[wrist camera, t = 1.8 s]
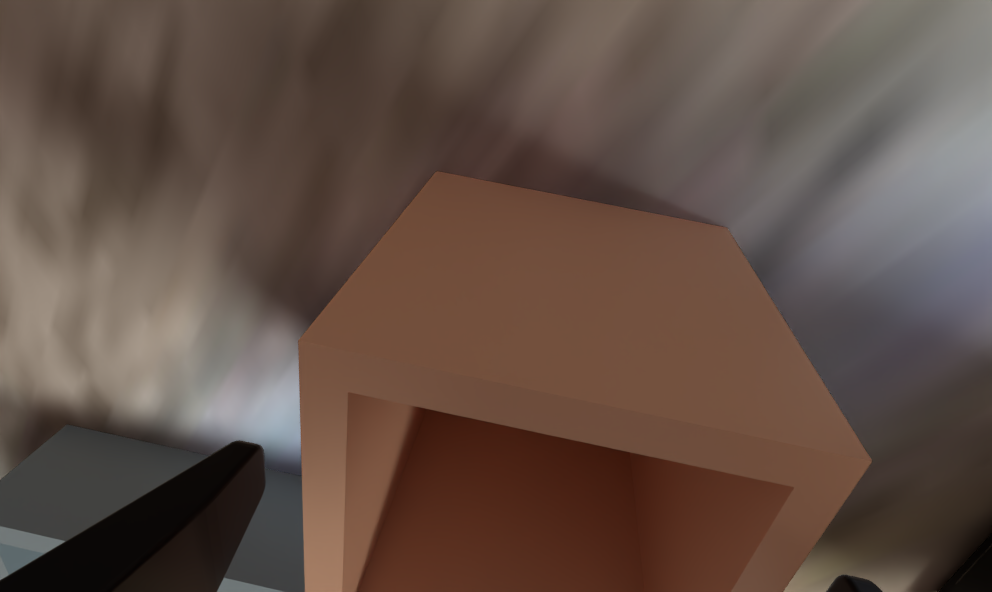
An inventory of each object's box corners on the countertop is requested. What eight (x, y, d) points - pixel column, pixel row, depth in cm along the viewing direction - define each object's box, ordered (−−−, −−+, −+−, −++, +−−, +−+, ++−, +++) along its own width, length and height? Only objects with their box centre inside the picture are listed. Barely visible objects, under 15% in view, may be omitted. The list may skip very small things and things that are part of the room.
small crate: (726, 226, 12) (872, 461, 6) (642, 442, 15) (682, 737, 9) (437, 169, 12) (297, 340, 6) (413, 393, 16) (306, 649, 10)
